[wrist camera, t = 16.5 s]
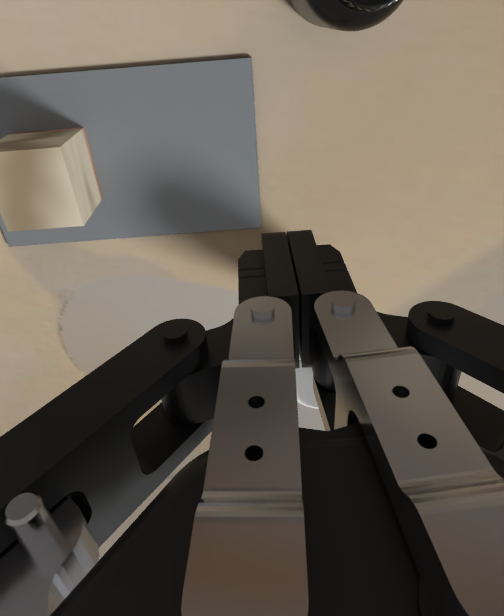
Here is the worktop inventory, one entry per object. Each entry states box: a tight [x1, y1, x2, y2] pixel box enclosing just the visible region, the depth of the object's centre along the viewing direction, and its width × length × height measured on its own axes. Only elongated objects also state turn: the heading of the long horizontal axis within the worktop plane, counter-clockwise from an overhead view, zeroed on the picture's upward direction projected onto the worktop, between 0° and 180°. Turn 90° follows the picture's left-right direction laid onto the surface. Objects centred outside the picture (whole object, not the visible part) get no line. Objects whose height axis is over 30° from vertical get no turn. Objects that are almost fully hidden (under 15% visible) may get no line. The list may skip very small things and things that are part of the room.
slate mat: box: [0, 57, 262, 247], centre depth 38 cm, size 24×14×1 cm, turn 94°
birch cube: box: [0, 127, 103, 232], centre depth 35 cm, size 6×6×6 cm
